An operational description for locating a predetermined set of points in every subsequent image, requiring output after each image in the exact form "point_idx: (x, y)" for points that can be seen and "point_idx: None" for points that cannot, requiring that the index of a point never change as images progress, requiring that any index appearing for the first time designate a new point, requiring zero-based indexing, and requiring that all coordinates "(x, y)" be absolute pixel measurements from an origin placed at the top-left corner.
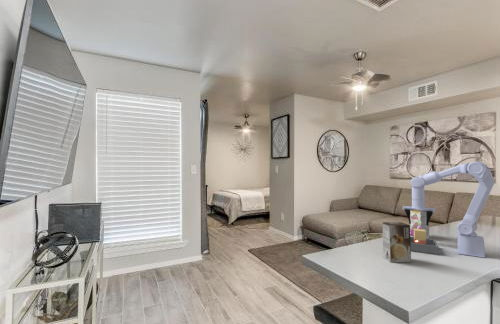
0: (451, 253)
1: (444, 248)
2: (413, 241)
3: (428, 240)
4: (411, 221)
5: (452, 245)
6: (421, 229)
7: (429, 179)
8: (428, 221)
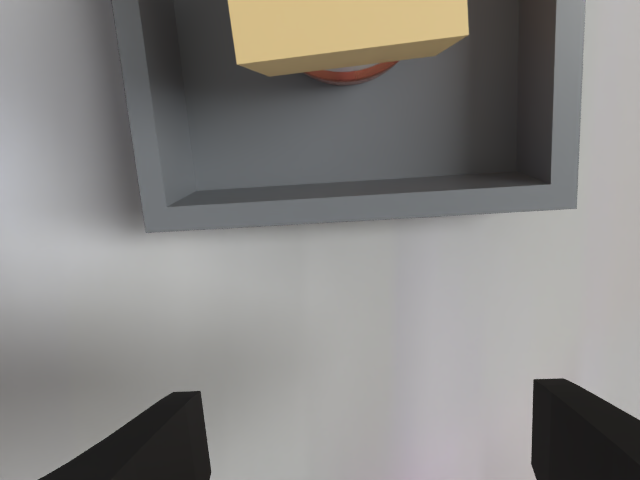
0: (12, 37)
1: (91, 235)
2: (425, 181)
3: (232, 200)
4: None
5: (28, 426)
6: (302, 24)
7: None
8: (115, 432)
